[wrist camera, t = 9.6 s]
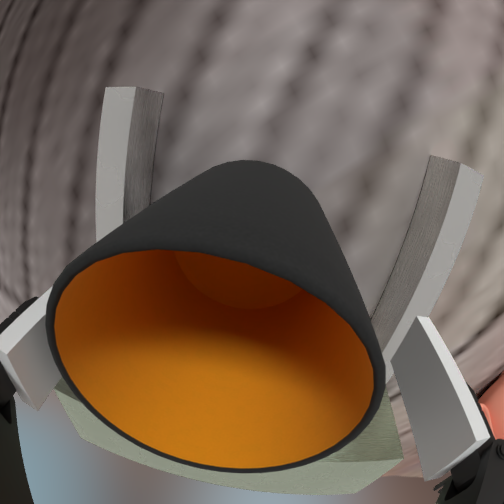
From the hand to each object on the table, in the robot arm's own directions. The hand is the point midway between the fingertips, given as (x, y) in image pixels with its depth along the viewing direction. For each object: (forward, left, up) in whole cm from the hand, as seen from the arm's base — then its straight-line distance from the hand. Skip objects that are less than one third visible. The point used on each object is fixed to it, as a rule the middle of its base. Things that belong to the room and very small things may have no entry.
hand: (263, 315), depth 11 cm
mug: (0, 0, -5) cm, 5 cm away
